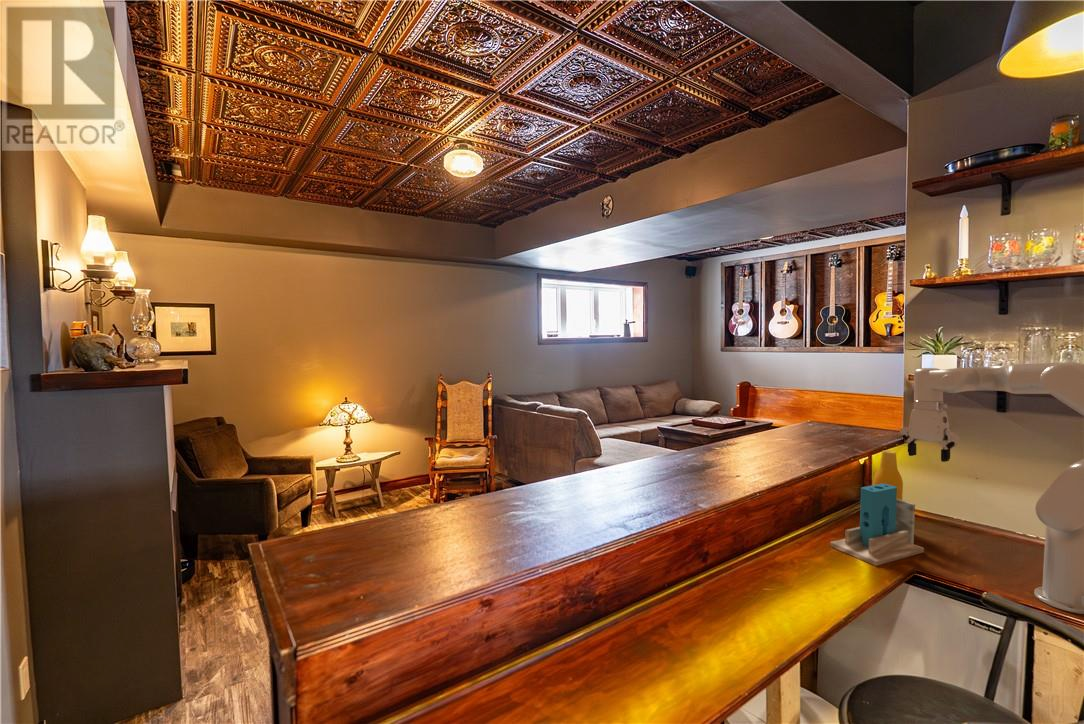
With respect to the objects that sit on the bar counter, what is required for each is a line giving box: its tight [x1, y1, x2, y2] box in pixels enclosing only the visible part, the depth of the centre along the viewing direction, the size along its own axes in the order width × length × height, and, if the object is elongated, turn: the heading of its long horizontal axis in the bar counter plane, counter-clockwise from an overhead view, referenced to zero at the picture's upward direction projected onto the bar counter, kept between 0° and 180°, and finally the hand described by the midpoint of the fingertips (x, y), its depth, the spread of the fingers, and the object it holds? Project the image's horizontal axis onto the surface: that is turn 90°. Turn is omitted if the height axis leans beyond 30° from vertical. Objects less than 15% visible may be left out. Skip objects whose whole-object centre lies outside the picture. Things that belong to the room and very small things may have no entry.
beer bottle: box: [872, 450, 904, 500], centre depth 191 cm, size 9×9×29 cm
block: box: [859, 484, 897, 547], centre depth 172 cm, size 12×5×20 cm, turn 112°
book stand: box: [829, 499, 925, 567], centre depth 172 cm, size 16×24×16 cm, turn 112°
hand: (928, 458), depth 166 cm, fingers open, 9 cm apart
